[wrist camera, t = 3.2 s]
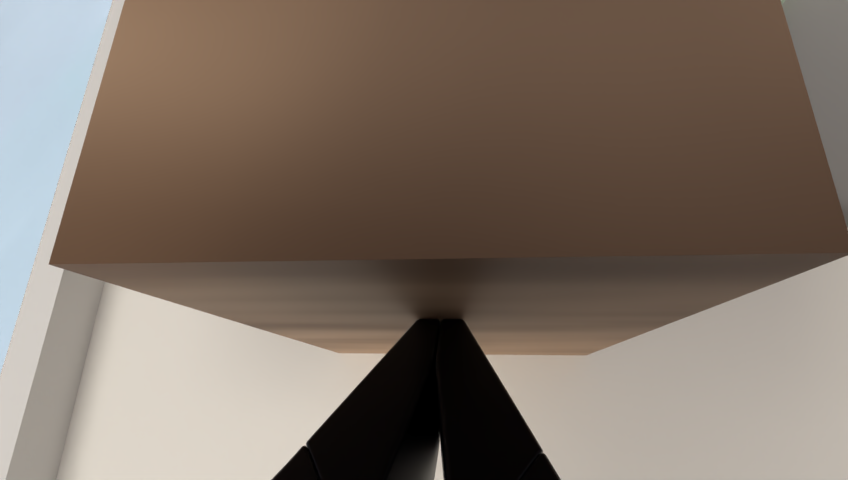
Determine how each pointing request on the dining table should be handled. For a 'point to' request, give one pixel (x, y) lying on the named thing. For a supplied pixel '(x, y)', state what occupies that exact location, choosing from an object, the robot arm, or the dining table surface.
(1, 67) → the dining table surface
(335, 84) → the walnut block
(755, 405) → the white recessed tray
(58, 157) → the dining table surface
